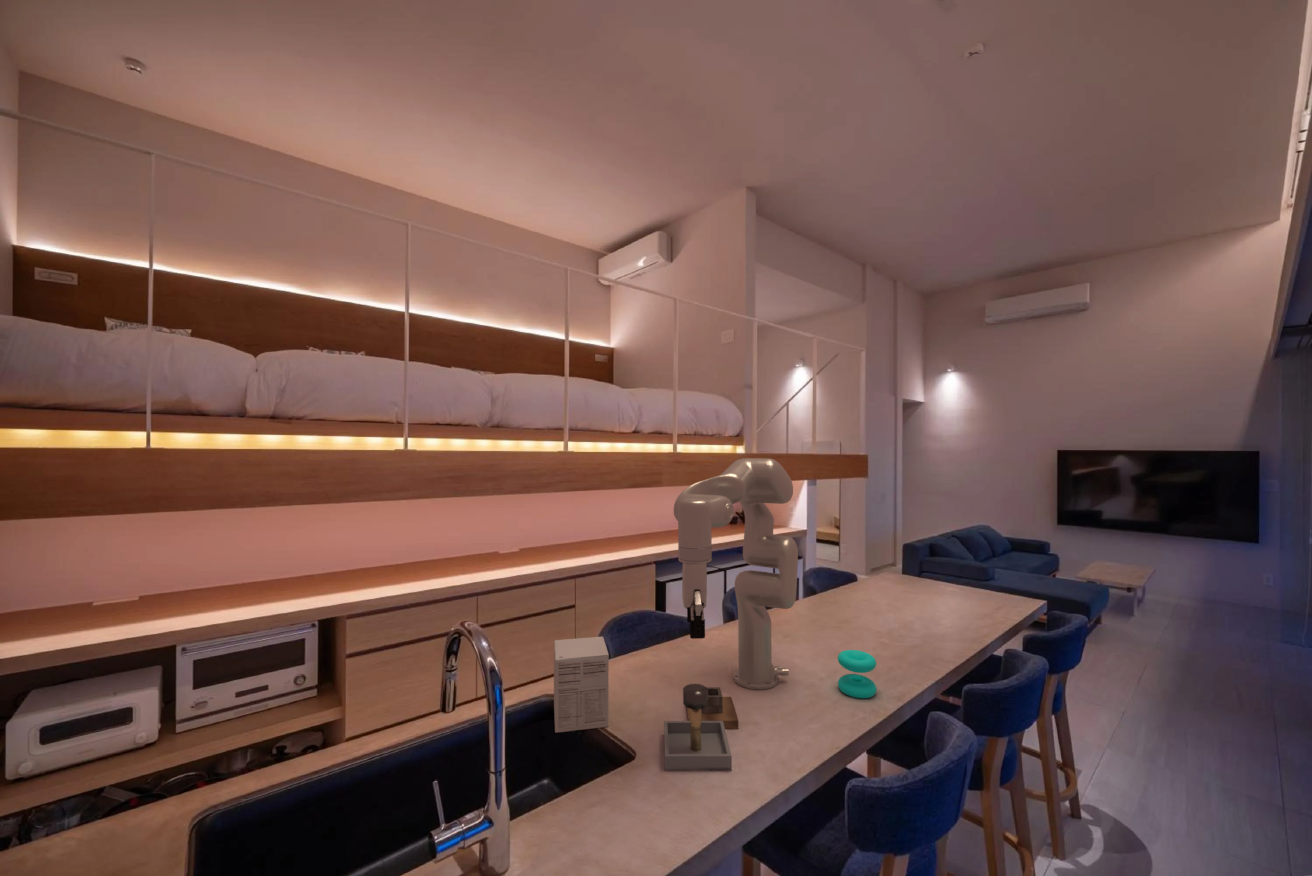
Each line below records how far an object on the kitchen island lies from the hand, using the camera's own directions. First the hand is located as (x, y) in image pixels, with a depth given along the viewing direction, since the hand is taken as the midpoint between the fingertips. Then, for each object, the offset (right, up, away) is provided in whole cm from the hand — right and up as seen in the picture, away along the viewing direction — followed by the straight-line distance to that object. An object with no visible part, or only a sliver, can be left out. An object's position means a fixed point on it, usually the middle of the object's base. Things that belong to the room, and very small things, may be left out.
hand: (695, 629), depth 115 cm
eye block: (+5, -27, +14) cm, 31 cm away
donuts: (+47, -28, +27) cm, 61 cm away
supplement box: (-28, -28, +14) cm, 42 cm away
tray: (0, -27, -1) cm, 27 cm away
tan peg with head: (0, -26, -1) cm, 26 cm away
